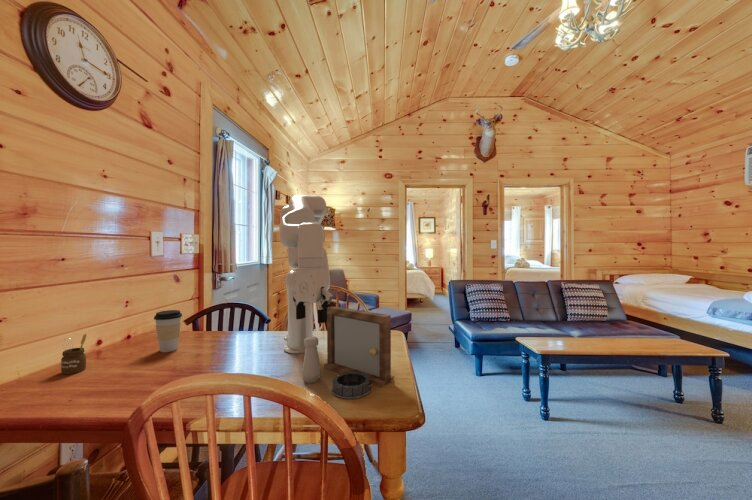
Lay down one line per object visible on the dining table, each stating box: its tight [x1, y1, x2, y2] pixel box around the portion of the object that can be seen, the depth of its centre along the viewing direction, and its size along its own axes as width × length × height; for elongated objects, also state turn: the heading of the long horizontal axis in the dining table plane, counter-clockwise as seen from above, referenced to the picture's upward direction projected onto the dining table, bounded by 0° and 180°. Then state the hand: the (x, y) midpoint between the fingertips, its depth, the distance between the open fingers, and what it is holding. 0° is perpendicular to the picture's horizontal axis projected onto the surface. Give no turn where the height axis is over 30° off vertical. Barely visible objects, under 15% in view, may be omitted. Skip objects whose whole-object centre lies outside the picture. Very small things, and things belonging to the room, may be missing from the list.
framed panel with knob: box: [323, 305, 395, 388], centre depth 99 cm, size 24×6×20 cm, turn 53°
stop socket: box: [331, 372, 372, 400], centre depth 88 cm, size 11×11×3 cm
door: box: [334, 315, 380, 377], centre depth 99 cm, size 19×3×16 cm, turn 53°
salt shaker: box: [301, 336, 322, 384], centre depth 95 cm, size 6×6×13 cm
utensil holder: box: [60, 333, 87, 375], centre depth 102 cm, size 6×6×12 cm
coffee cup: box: [153, 309, 183, 353], centre depth 123 cm, size 9×9×15 cm
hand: (311, 320), depth 94 cm, fingers open, 9 cm apart
